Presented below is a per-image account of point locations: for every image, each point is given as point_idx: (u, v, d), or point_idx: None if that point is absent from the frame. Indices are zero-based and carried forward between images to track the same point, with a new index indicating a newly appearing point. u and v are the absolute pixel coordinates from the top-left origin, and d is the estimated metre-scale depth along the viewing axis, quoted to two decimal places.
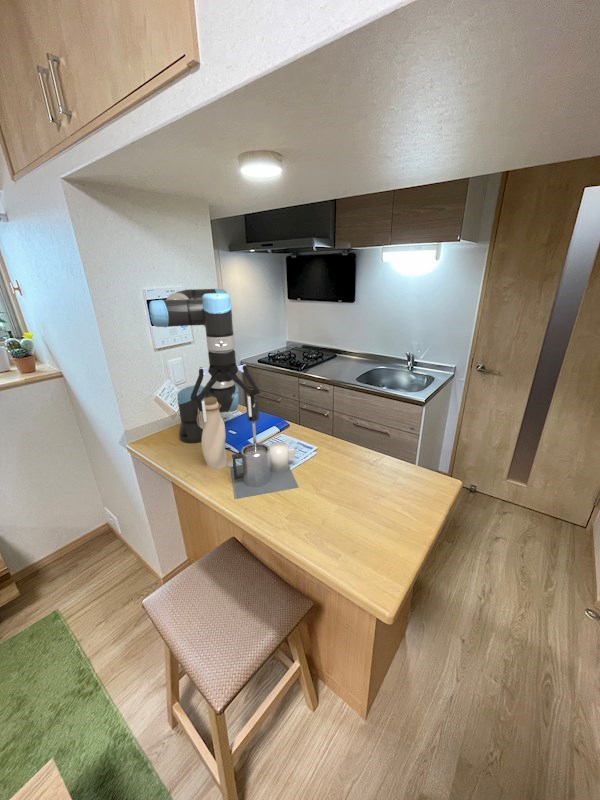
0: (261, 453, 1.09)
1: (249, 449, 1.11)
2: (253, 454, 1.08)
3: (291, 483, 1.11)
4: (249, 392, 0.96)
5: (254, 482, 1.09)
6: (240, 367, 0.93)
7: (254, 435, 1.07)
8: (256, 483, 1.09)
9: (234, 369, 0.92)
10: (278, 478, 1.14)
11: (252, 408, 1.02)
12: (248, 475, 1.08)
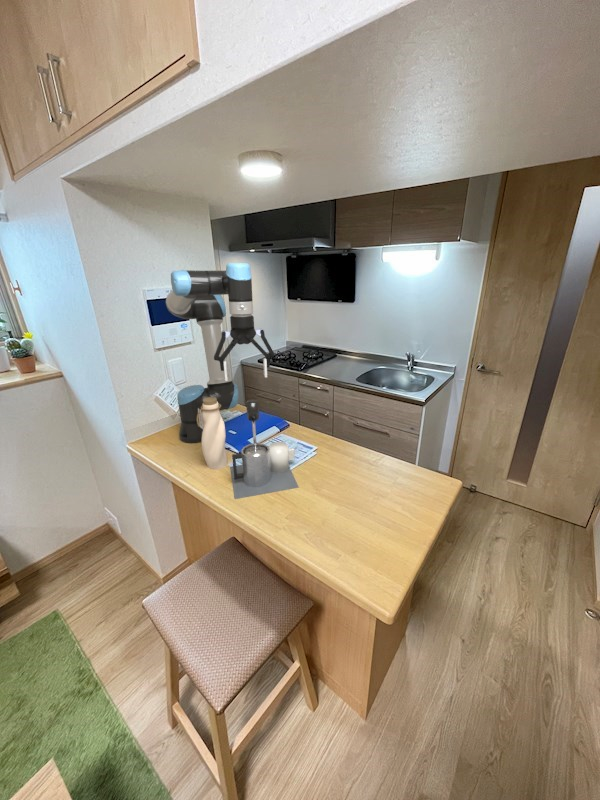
0: (261, 453, 1.09)
1: (249, 449, 1.11)
2: (253, 454, 1.08)
3: (291, 483, 1.11)
4: (265, 354, 1.07)
5: (254, 482, 1.09)
6: (258, 331, 1.05)
7: (254, 435, 1.07)
8: (256, 483, 1.09)
9: (252, 332, 1.04)
10: (278, 478, 1.14)
11: (252, 408, 1.02)
12: (248, 475, 1.08)
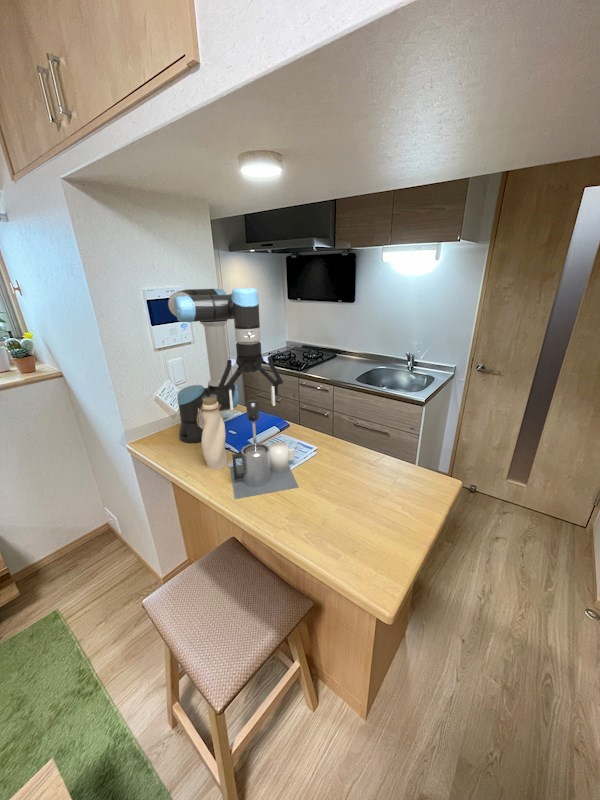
0: (261, 453, 1.09)
1: (249, 449, 1.11)
2: (253, 454, 1.08)
3: (291, 483, 1.11)
4: (273, 382, 1.01)
5: (254, 482, 1.09)
6: (265, 358, 0.99)
7: (254, 435, 1.07)
8: (256, 483, 1.09)
9: (260, 360, 0.98)
10: (278, 478, 1.14)
11: (252, 408, 1.02)
12: (248, 475, 1.08)
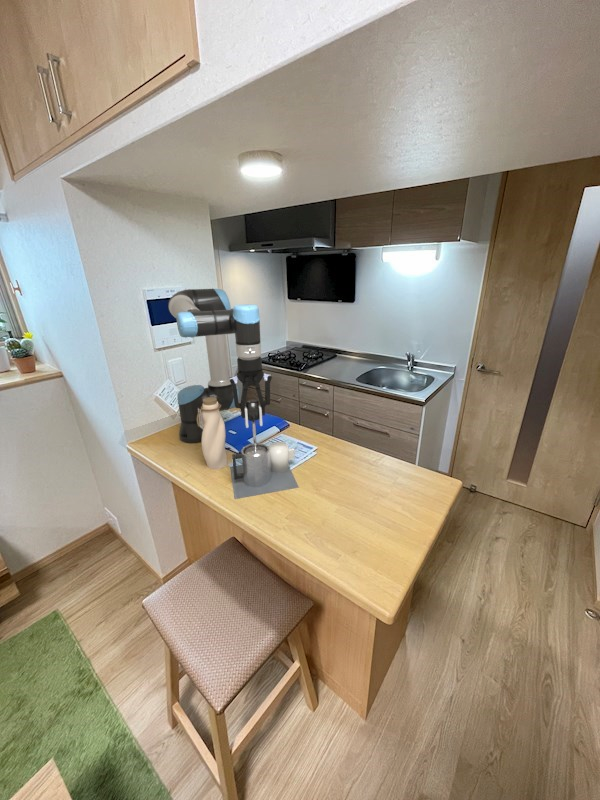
0: (261, 453, 1.09)
1: (249, 449, 1.11)
2: (253, 454, 1.08)
3: (291, 483, 1.11)
4: (262, 402, 1.03)
5: (254, 482, 1.09)
6: (266, 375, 1.01)
7: (254, 435, 1.07)
8: (256, 483, 1.09)
9: (260, 374, 1.00)
10: (278, 478, 1.14)
11: (252, 408, 1.02)
12: (248, 475, 1.08)
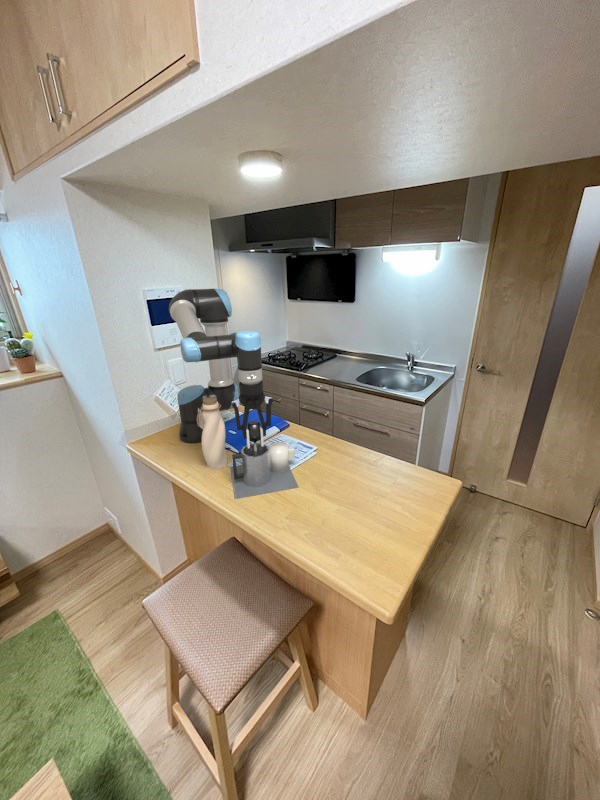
0: None
1: None
2: None
3: (291, 483, 1.11)
4: (263, 424, 1.06)
5: (254, 482, 1.09)
6: (267, 398, 1.04)
7: (255, 455, 1.10)
8: (256, 483, 1.09)
9: (262, 397, 1.03)
10: (278, 478, 1.14)
11: (253, 430, 1.05)
12: (248, 475, 1.08)
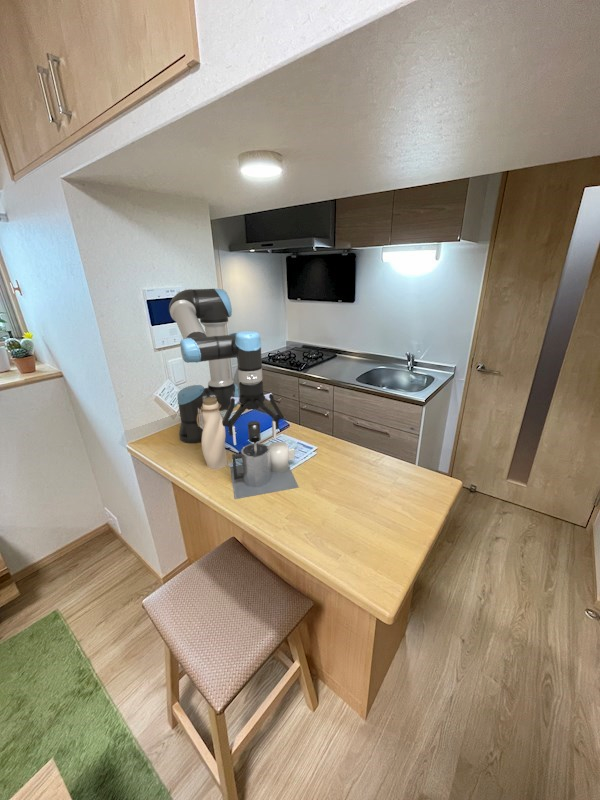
0: None
1: None
2: None
3: (291, 483, 1.11)
4: (274, 418, 1.06)
5: (254, 482, 1.09)
6: (267, 396, 1.04)
7: (255, 455, 1.10)
8: (256, 483, 1.09)
9: (262, 398, 1.03)
10: (278, 478, 1.14)
11: (254, 430, 1.05)
12: (248, 475, 1.08)
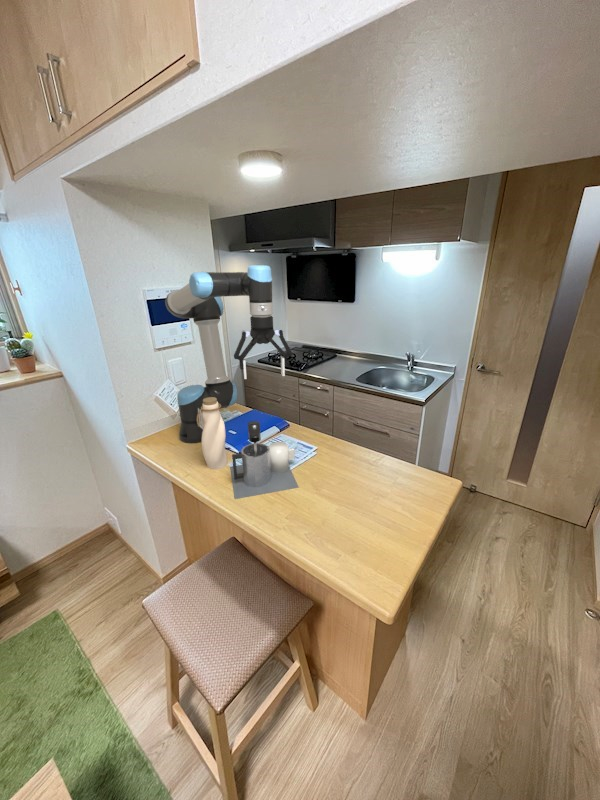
0: None
1: None
2: None
3: (291, 483, 1.11)
4: (283, 354, 1.11)
5: (254, 482, 1.09)
6: (276, 331, 1.08)
7: (255, 455, 1.10)
8: (256, 483, 1.09)
9: (271, 332, 1.07)
10: (278, 478, 1.14)
11: (254, 430, 1.05)
12: (248, 475, 1.08)
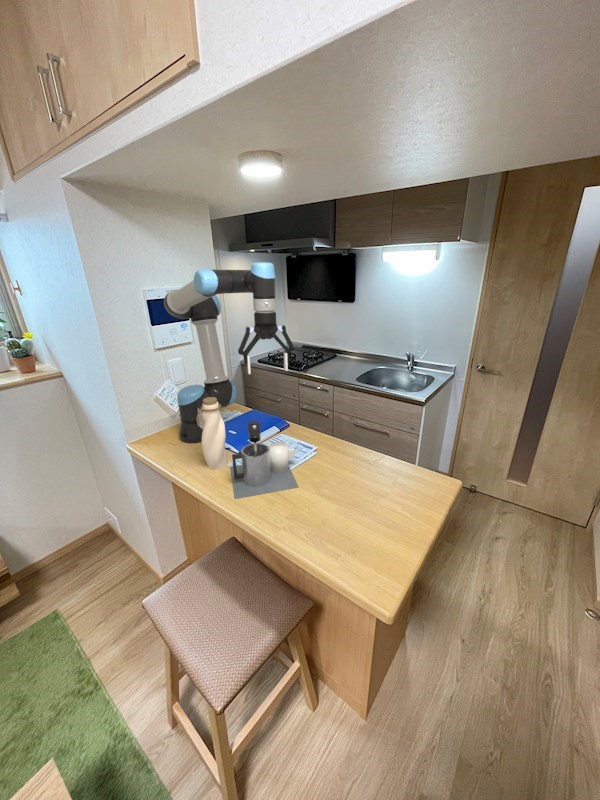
0: None
1: None
2: None
3: (291, 483, 1.11)
4: (286, 349, 1.14)
5: (254, 482, 1.09)
6: (279, 327, 1.11)
7: (255, 455, 1.10)
8: (256, 483, 1.09)
9: (275, 328, 1.10)
10: (278, 478, 1.14)
11: (254, 430, 1.05)
12: (248, 475, 1.08)
